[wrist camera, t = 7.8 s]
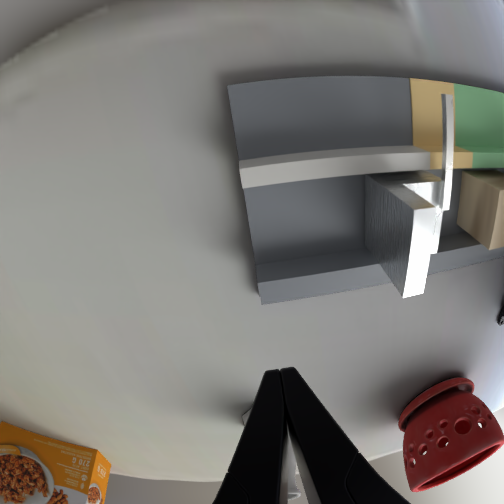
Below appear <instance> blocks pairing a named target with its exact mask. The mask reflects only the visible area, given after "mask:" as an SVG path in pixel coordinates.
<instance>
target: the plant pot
mask: <svg viewBox="0 0 504 504" xmlns="http://www.w3.org/2000/svg"><path fill="white" fill-rule="evenodd" d="M473 391H474V383H473V382H472V381H471V380H469V379H466V378H452V379H449V380H446V381H443V382H441V383H438V384H436V385H434V386H433V387H431V388H429V389H427V390H426V391H424V392H423V393H421V394H420V395H419V396H417V397H416V398H415V399H414V400H413V401H411V402H410V403H409V405H408V406H407V407H406V408H405V409H404V411H403V412H402V414H401V416H400V418H399V422H398V426H399V429H400V430H401V431H403V432H405V434H404V440H403V457H404V464H405V471H406V475H407V480H408V483H409V487H410V490H411V491H412V492H419V491H423V490H427V489H430V488H432V487H435V486H438V485H440V484H443V483H445V482H447V481H449V480H451V479H453V478H455V477H457V476H459V475H461V474H463V473H465V472H466V471H468V470H470V469H472V468H473V467H475V466H476V465H478V464H480V463H481V462H482V461H484V460H485V459H487V458H488V457H490V456H491V455H492V454H493V453H495V452H496V451H497V450H498V449H499V448H500V447H501V446H502V445H503V444H504V435H503V432H502V430H501V428H500V425H499V424H498V422H497V420H496V418H495V417H494V415H493V414H492V412H491V411H490V410H489V408H488V407H487V406H486V405H485V404H484V402H483V401H481V400H480V399H479V398H478V397H476V396H475V395H473V394H472V393H473ZM478 423H481V425H482V428H481V427H480V426H479V425H478ZM447 442H448V444H447V446H446V443H447ZM425 451H427V453H426V454H425V455H423V453H424V452H425ZM413 459H415V461H416V463H415V465H414V463H413Z"/></svg>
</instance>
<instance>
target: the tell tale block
mask: <svg viewBox="0 0 504 504" xmlns="http://www.w3.org/2000/svg"><path fill="white" fill-rule="evenodd" d="M457 225H458V226H460V227H461V228H462V229H464V230H465V231H466V232H467V233H469V234H470V235H471V236H472V237H474V238H475V239H476V240H477V241H479V242H480V243H481V244H482V245H483V246H485V247H486V248H487V249H488V250H492V249H496V248H500V247H504V173H502V172H500V171H498V170H479V171H462V180H461V191H460V200H459V209H458V217H457Z"/></svg>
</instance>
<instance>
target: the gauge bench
mask: <svg viewBox="0 0 504 504" xmlns="http://www.w3.org/2000/svg"><path fill="white" fill-rule="evenodd" d="M227 88H228V95H229V101H230V107H231V113H232V120H233V126H234V132H235V139H236V145H237V151H238V158H239V170H240V177H241V183H242V189H244V196H245V202H246V208H247V215H248V221H249V227H250V234H251V240H252V246H253V253H254V259H255V266H256V275H257V283H258V290H259V296H260V297H261V304H262V305H263V304H270V303H277V302H283V301H290V300H296V299H303V298H309V297H315V296H321V295H327V294H333V293H338V292H344V291H350V290H355V289H360V288H366V287H371V286H376V285H381V284H386V283H392V281H391V280H390V278H389V277H388V276H387V274H386V273H385V271H384V270H383V269H382V267H381V266H380V265H379V263H378V262H377V260H376V259H375V258H374V256H373V255H372V254H371V252H370V251H369V250H368V248H367V247H366V246H365V244H364V239H365V174H371V173H383V172H397V171H413V170H426V171H428V172H430V173H432V174H433V175H435V176H437V177H439V178H441V173H442V142H443V129H442V98H441V94H449V95H453V114H454V148H453V171H452V185H451V197H450V206H449V210H444V211H443V214H442V223H441V230H440V237H439V244H438V250H437V253H434V254H430V259H429V265H428V270H427V275H430V274H434V273H438V272H443V271H447V270H452V269H456V268H460V267H464V266H468V265H473V264H477V263H481V262H485V261H488V260H492V259H496V258H500V257H503V256H504V247H500V248H496V249H492V250H488V249H487V248H486V247H485V246H483V245H482V244H481V243H480V242H479V241H477V240H476V239H475V238H474V237H472V236H471V235H470V234H469V233H467V232H466V231H465V230H464V229H462V228H461V227H460V226H458V225H457V217H458V209H459V200H460V191H461V180H462V171H479V170H498V171H500V172H502V173H504V93H501V92H497V91H492V90H488V89H483V88H478V87H472V86H467V85H461V84H455V83H448V82H441V81H433V80H424V79H414V78H400V77H383V76H316V77H298V78H285V79H274V80H264V81H256V82H248V83H241V84H234V85H227Z"/></svg>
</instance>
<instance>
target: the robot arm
mask: <svg viewBox="0 0 504 504" xmlns="http://www.w3.org/2000/svg"><path fill="white" fill-rule="evenodd" d="M497 323H498V324H499V325H503V324H504V307H503V309H502V312H501V314H500V317H499V319H498V322H497ZM287 426H288V427H287ZM288 432H289V437H290V441H291V445H292V448H293V452H294V455H295V459H296V462H297V466H298V469H299V473H300V476H301V479H302V483H303V486H304V489H305V493H306V496H307V500H308V503H309V504H411V503H409V502H408V501H407V500H406V499H405V498H403V497H402V496H401V495H400V494H399V493H398V492H397V491H395V490H394V489H393V488H392V487H391V486H390V485H389V484H388V483H387V482H386V481H385V480H384V479H383V478H382V477H381V476H380V475H379V474H378V473H377V472H376V471H375V470H374V468H373V467H372V466H371V465H370V464H369V463H368V462H367V460H366V459H365V458H364V457H363V455H362V454H361V453H358V452H359V451H358V449H357V448H356V447H355V445H354V444H353V443H352V442H351V440H350V439H349V438H348V437H347V435H346V434H345V433H344V431H343V430H342V429H341V428H340V426H339V425H338V424H337V422H336V421H335V420H334V419H333V417H332V416H331V415H330V413H329V412H328V411H327V409H326V408H325V407H324V406H323V404H322V403H321V402H320V400H319V399H318V398H317V396H316V395H315V394H314V392H313V391H312V390H311V388H310V387H309V386H308V384H307V383H306V382H305V380H304V379H303V378H302V376H301V375H300V374H299V372H298V371H297V370H296V369H295V368H294V367H288V368H282V369H281V370H280V371H279V370H278V369H275V370H267V371H265V373H264V375H263V378H262V381H261V384H260V387H259V389H258V392H257V395H256V398H255V400H254V403H253V406H252V409H251V411H250V414H249V417H248V419H247V422H246V425H245V427H244V430H243V433H242V435H241V438H240V440H239V443H238V446H237V448H236V451H235V453H234V456H233V458H232V461H231V463H230V466H229V468H228V472H229V473H228V472H227V473H226V475H225V478H224V480H223V482H222V485H221V487H220V489H219V491H218V493H217V496H216V498H215V500H214V502H213V503H212V504H287V503H288V452H289V440H288Z"/></svg>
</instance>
